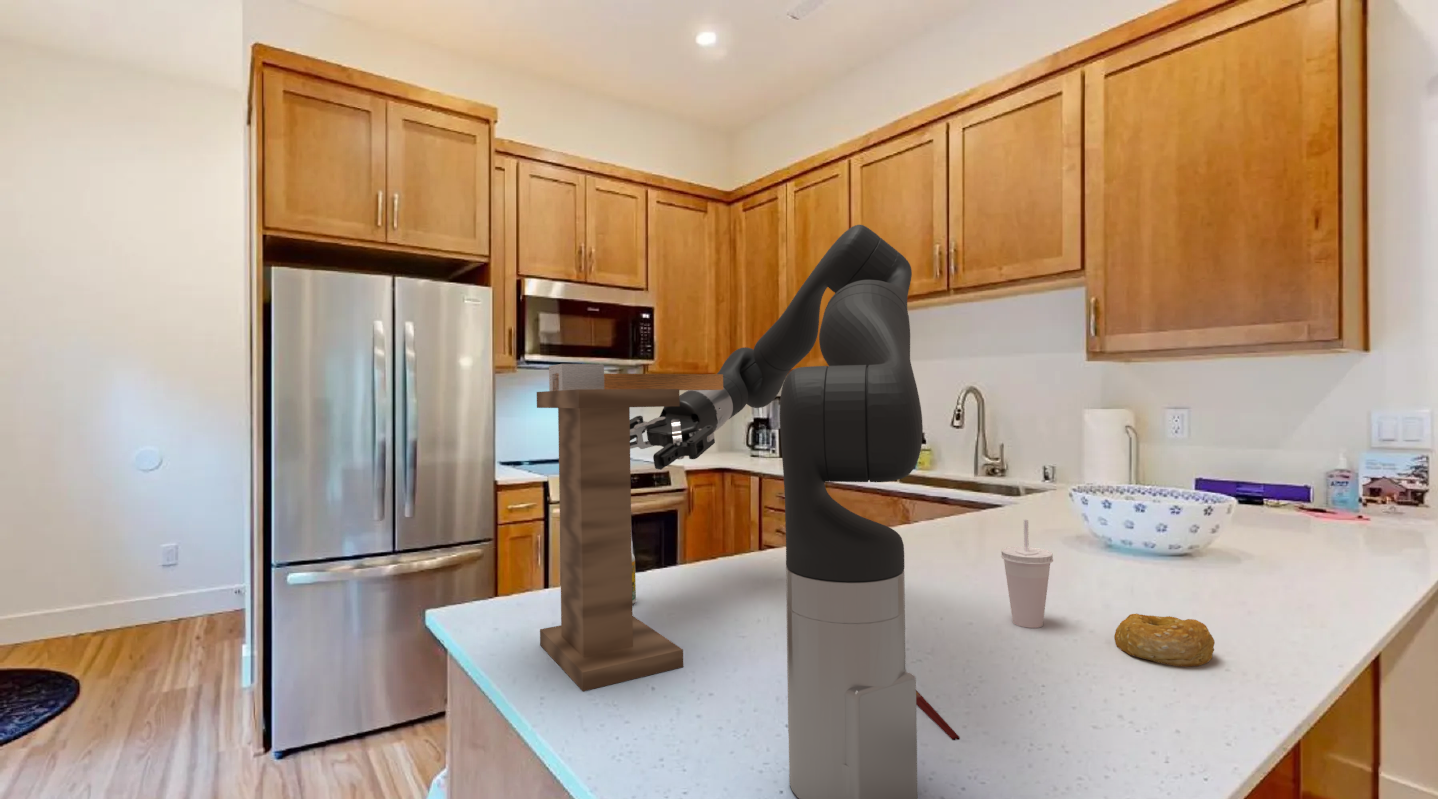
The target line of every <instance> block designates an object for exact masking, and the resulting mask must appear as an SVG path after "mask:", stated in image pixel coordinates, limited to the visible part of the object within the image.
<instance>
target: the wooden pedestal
mask: <svg viewBox="0 0 1438 799" xmlns="http://www.w3.org/2000/svg"><path fill="white" fill-rule="evenodd" d="M679 396H680V390H679V389H577V390H561V391H549V390H548V391H547V390H545V391H536V408H538V409H557V410H558V411H557V415H558V416H557V417H558V418H557V419H558V420H557V424H558V429H557V430H558V484H559V486H558V488H559V493H558V494H559V498H558V499H559V552H560V553H559V556H560V557H559V561H560V562H559V563H560V566H559V567H560V568H559V569H560V620H561V622H560V625H556V626H551V627H544V628H540V629H539V642H540V643H539V646H540V647H541V648H543V650H544V651H545V652H546V653H547V654H548V655H549V656H550V658H551V659H553V661H554V662H555V663H556V664H557V665H558V666H559V668H560V669H562V670H563V672H564V673H565V674H566V675H567V676H568V677H569V678H570V679H571V680H572V681H573V682H574V683H575V685H576V686H577V687H578V688H579V689H580V690H581V691H582V692H586V691H590V690H593V689H599V688H602V687H607V686H610V685H615V684H618V683H623V682H627V681H632V680H636V679H638V678H643V677H646V676H647V677H648V676H651V675H656V674H659V673H660V674H661V673H664V672H668V671H672V670H676V669H681V668H684V649H683V648H682V647H680V646H679V645H677V644H676V643H674V642H672V641H671V640H669V639H668V638H667V637H665V636H664V635H662V634H660V633H659V632H657V631H656V630H655V629H653V628H652V627H650V626H649V625H647V624H645V623H644V622H643V621H641V620H640V619H638V618H637V617H636V616H634V615H633V604H632V554H633V552H632V549H633V547H632V492H631V490H632V489H631V488H632V487H631V485H632V483H631V482H632V481H631V480H632V478H631V449H630V442H631V441H630V420H631V417H630V416H631V415H630V414H631V413H630V412H631V411H630V408H661V407H663V408H664V407H670V406H680V400H679Z"/></svg>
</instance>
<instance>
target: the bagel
mask: <svg viewBox="0 0 1438 799" xmlns="http://www.w3.org/2000/svg"><path fill="white" fill-rule="evenodd" d="M1113 638H1114V643H1115V646H1116V647H1117V648H1118V649H1120V650H1121V651H1122V652H1125V653H1126V654H1128V655H1129V656H1132V657H1135V658H1138V659H1142V660H1146V661H1151V662H1154V663H1158V664H1163V665H1167V666H1173V667H1180V668H1181V667H1184V668H1185V667H1186V668H1188V667H1198V666H1202V665H1205V664H1207V663H1209V662H1210V661H1211V660H1212V659H1213V653H1214V651H1215V647H1214V646H1215V639H1214V637H1213V635H1212V634H1211V632H1210V631H1209V629H1208V626H1207V625H1206V624H1205V623H1203V622H1201V621H1199V620H1197V619H1193V618H1191V619H1190V618H1187V619H1180V618H1177V617H1175V616H1170V615H1169V616H1167V615H1166V616H1160V615H1159V616H1157V615H1147V614H1146V615H1145V614H1139V613H1131V614H1129V615H1128V616H1126V618H1125V619H1123V620H1122V621H1121V622H1120V623H1119V624H1118V625H1117V627H1116V629H1115V632H1114V636H1113Z"/></svg>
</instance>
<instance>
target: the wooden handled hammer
mask: <svg viewBox="0 0 1438 799" xmlns="http://www.w3.org/2000/svg"><path fill="white" fill-rule="evenodd" d="M548 376H549V377H548V378H549V379H548V385H549V386H548V389H549V390H548V391H561V390H577V389H679V391H688V390H723V374H717V373H715V374H713V373H711V374H708V373H707V374H705V373H702V374H701V373H699V374H697V373H605V364H603V363H602V364H599V363H598V364H597V363H596V364H595V363H594V364H591V363H590V364H589V363H560V364H553V365H549V366H548Z"/></svg>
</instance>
